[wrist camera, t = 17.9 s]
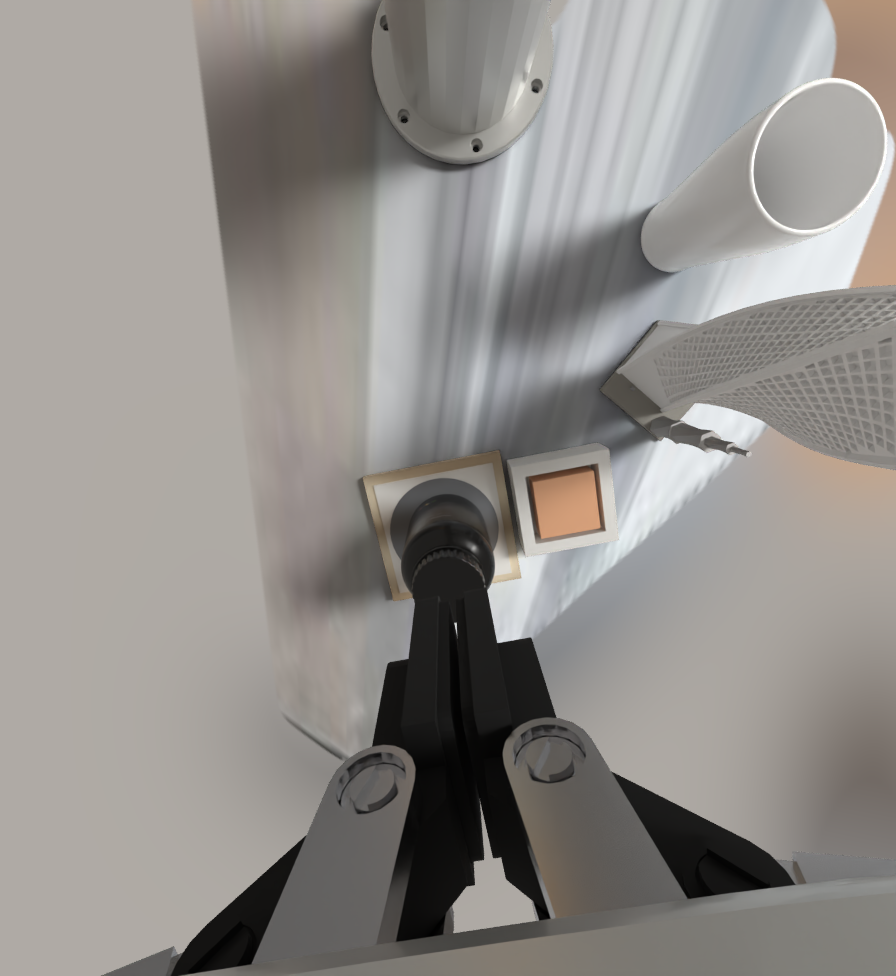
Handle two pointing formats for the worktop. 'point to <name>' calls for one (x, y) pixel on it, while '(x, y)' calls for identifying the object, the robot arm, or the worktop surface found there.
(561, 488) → the button
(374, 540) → the worktop surface
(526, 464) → the button housing
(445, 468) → the cream square coaster
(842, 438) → the skyscraper
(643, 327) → the worktop surface
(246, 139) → the worktop surface
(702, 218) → the drinking glass
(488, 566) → the supplement bottle
